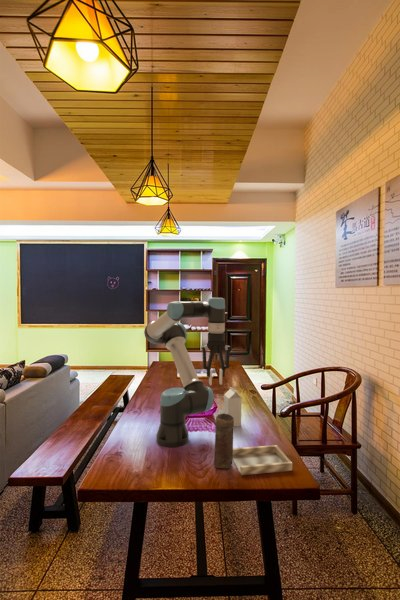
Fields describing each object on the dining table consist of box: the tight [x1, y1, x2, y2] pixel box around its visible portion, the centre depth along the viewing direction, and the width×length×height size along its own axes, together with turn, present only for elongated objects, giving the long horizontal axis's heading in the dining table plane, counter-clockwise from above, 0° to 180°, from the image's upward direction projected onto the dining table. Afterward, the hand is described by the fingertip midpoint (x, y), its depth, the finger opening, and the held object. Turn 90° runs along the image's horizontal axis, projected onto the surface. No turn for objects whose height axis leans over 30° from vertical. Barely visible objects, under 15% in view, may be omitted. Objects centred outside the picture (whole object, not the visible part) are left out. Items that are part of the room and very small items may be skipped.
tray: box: [232, 444, 293, 476], centre depth 133 cm, size 21×15×3 cm
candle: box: [213, 412, 234, 469], centre depth 130 cm, size 8×7×20 cm
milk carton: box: [223, 386, 242, 428], centre depth 171 cm, size 7×7×19 cm
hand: (215, 383), depth 145 cm, fingers open, 4 cm apart
